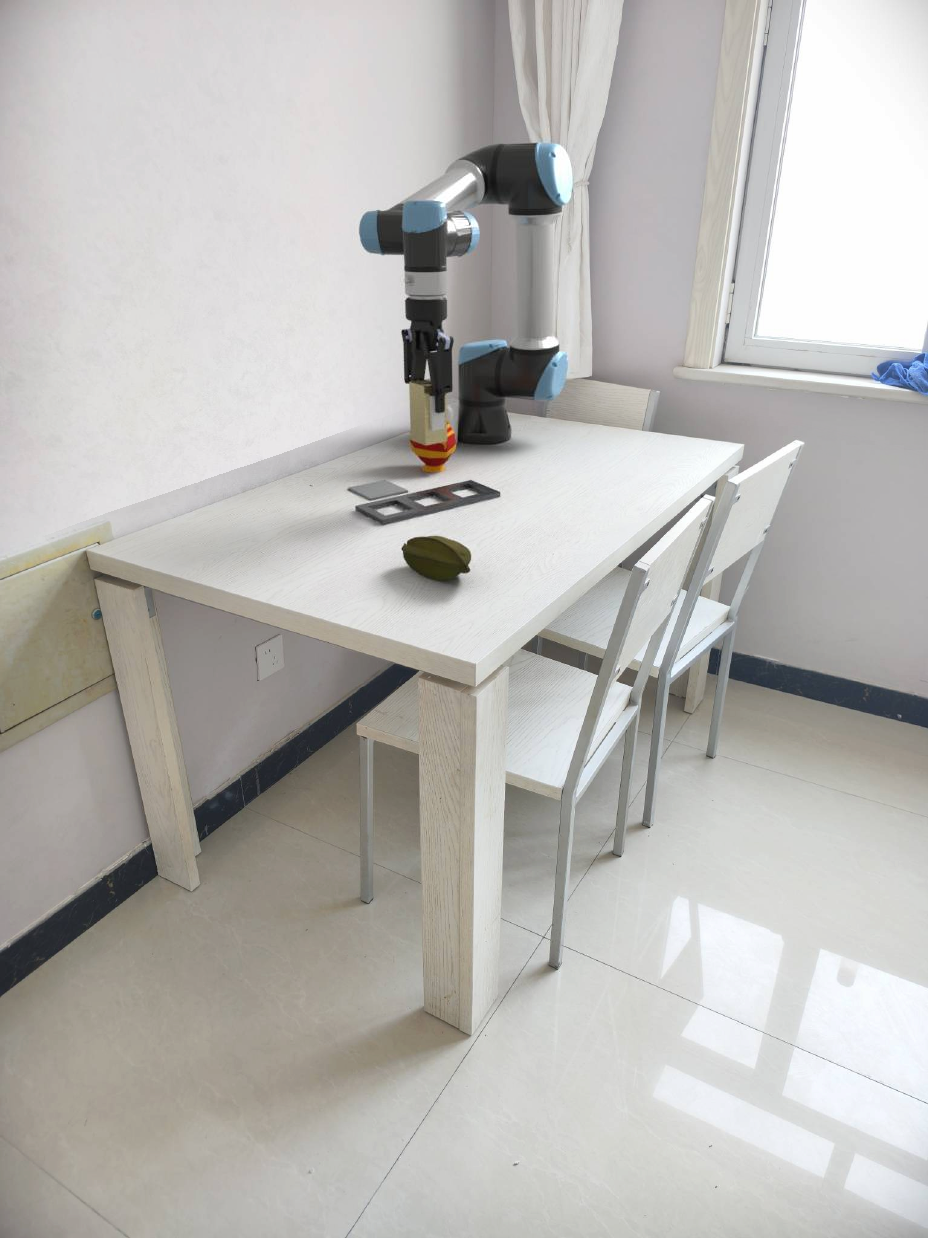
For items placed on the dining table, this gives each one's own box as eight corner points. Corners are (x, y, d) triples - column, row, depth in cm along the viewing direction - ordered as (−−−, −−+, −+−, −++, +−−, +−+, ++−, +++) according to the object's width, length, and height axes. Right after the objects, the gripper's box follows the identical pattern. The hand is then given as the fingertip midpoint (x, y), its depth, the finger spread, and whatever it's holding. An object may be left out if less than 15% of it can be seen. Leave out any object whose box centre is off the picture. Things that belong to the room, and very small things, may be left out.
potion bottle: (458, 463, 194) (458, 396, 187) (453, 476, 185) (453, 407, 178) (413, 461, 195) (411, 395, 188) (406, 475, 186) (404, 406, 179)
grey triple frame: (355, 510, 165) (355, 505, 164) (470, 484, 180) (470, 479, 179) (382, 525, 158) (382, 519, 157) (500, 496, 173) (500, 491, 172)
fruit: (471, 561, 142) (471, 524, 139) (470, 591, 132) (471, 552, 129) (403, 561, 142) (402, 524, 139) (397, 591, 132) (395, 551, 129)
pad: (348, 489, 177) (348, 487, 177) (385, 481, 182) (385, 479, 181) (370, 500, 170) (370, 498, 170) (408, 492, 175) (408, 490, 175)
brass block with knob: (410, 439, 164) (409, 380, 159) (432, 435, 166) (431, 376, 161) (425, 445, 160) (424, 384, 155) (447, 441, 163) (446, 381, 158)
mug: (417, 440, 212) (416, 399, 207) (450, 437, 215) (450, 395, 210) (434, 451, 203) (434, 408, 198) (468, 447, 206) (468, 404, 201)
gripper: (381, 293, 156) (386, 419, 166) (437, 302, 143) (439, 439, 154) (415, 290, 160) (418, 414, 170) (473, 299, 147) (473, 432, 158)
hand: (428, 425), depth 162 cm, fingers closed on brass block with knob, 5 cm apart
